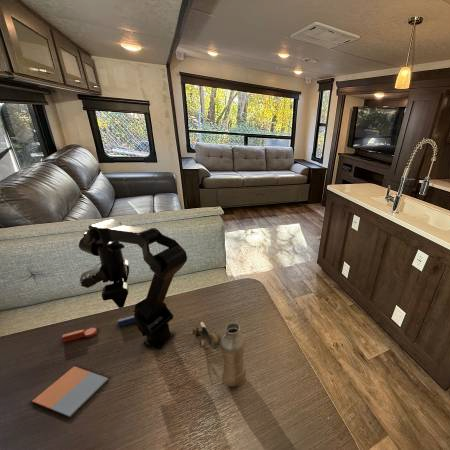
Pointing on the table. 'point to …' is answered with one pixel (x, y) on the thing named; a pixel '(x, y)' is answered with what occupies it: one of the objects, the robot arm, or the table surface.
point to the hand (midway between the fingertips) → (122, 298)
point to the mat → (70, 391)
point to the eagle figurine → (206, 335)
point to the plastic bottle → (233, 355)
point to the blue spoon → (126, 321)
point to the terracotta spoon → (79, 334)
